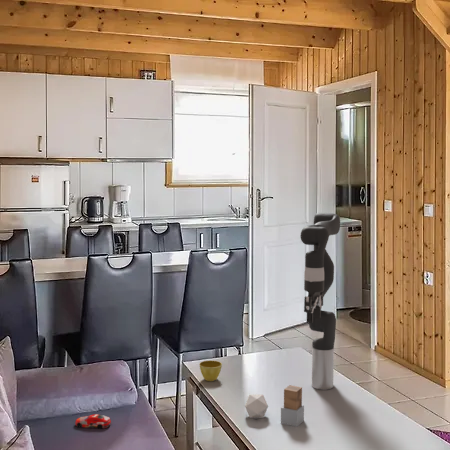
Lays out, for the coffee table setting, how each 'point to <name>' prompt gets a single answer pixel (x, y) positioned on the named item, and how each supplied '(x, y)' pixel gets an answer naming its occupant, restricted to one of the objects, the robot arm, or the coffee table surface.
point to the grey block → (292, 416)
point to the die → (256, 406)
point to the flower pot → (210, 369)
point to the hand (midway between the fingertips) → (313, 320)
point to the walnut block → (293, 397)
